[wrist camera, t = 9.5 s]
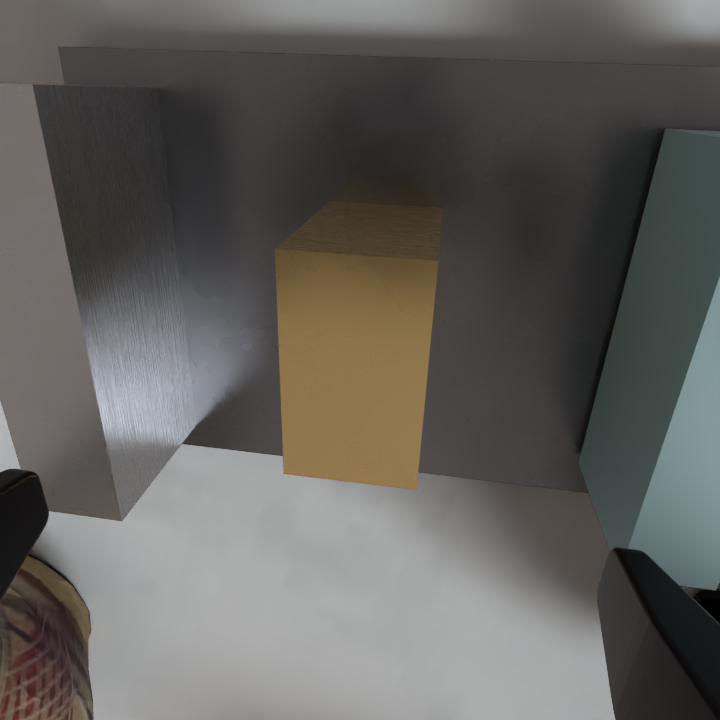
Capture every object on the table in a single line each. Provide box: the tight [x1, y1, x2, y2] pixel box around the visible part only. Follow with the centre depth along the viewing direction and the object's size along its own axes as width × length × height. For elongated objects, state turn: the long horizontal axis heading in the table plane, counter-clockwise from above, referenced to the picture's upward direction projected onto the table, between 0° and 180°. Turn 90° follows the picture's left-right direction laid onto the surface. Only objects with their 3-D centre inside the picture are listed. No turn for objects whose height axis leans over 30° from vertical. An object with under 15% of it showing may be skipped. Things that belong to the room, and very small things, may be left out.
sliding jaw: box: [579, 129, 720, 590], centre depth 15 cm, size 2×11×5 cm, turn 178°
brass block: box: [275, 201, 442, 490], centre depth 16 cm, size 4×6×6 cm, turn 178°
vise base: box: [0, 47, 720, 521], centre depth 16 cm, size 20×14×6 cm
